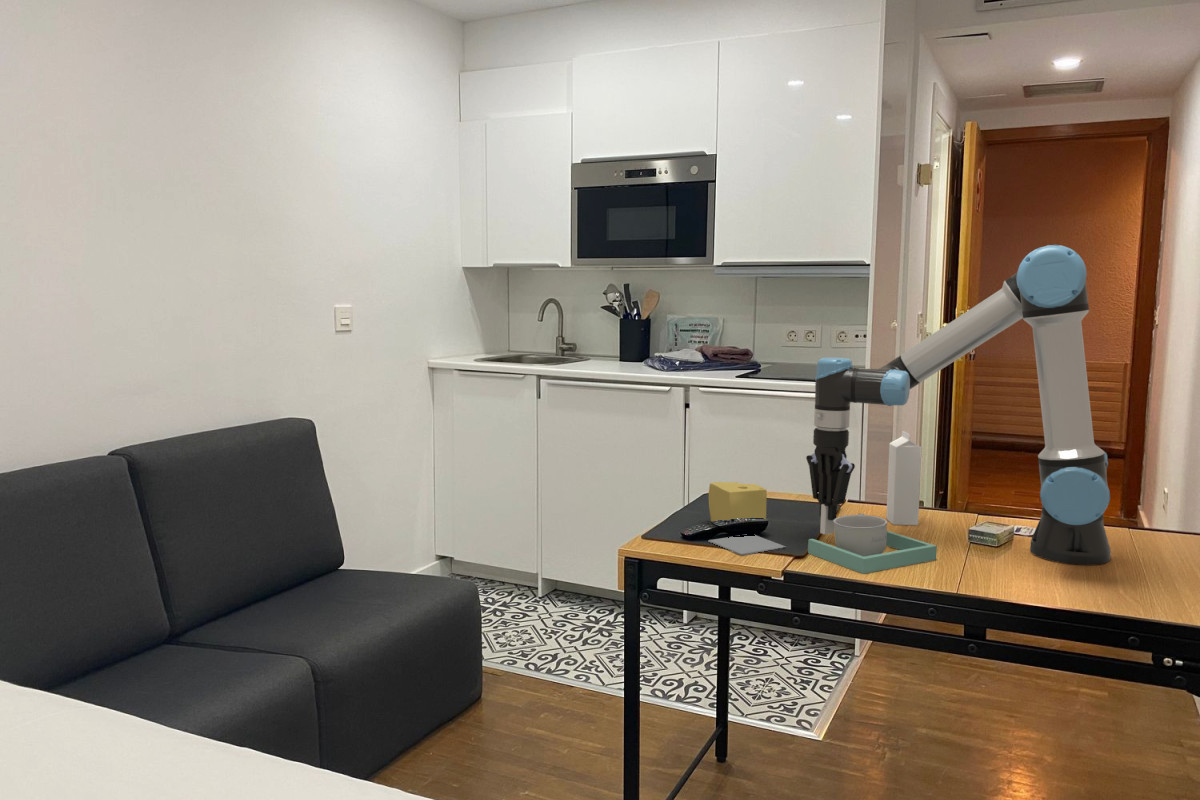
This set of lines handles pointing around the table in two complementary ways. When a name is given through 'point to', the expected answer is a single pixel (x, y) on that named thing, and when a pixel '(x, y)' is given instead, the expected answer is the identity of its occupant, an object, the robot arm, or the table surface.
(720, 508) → the cheese
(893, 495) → the milk
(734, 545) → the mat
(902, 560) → the cup bay
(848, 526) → the teacup
